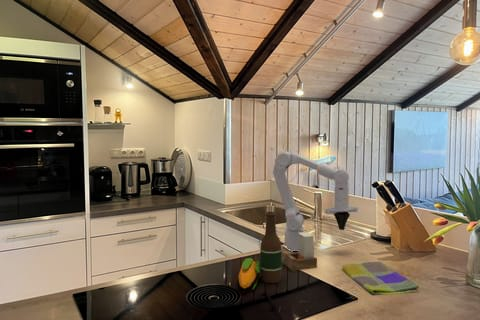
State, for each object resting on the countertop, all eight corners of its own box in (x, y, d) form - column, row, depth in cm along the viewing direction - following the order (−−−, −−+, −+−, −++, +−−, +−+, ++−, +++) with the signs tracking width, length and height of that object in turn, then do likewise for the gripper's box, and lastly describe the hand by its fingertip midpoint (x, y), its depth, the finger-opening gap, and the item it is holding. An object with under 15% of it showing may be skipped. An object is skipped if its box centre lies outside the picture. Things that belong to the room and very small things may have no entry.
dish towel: (369, 297, 115) (369, 288, 115) (340, 269, 139) (340, 262, 139) (421, 293, 117) (421, 285, 117) (383, 267, 141) (383, 260, 141)
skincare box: (297, 262, 147) (297, 232, 146) (307, 260, 148) (307, 231, 148) (304, 267, 141) (304, 236, 141) (314, 265, 142) (314, 235, 142)
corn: (261, 253, 135) (255, 273, 115) (263, 273, 135) (257, 296, 115) (241, 254, 136) (232, 273, 116) (243, 274, 136) (234, 297, 116)
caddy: (280, 261, 148) (280, 250, 148) (304, 258, 151) (304, 247, 151) (293, 271, 137) (293, 259, 136) (318, 268, 139) (318, 256, 139)
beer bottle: (286, 277, 131) (285, 211, 129) (276, 285, 124) (275, 215, 123) (266, 273, 135) (265, 209, 133) (256, 281, 128) (255, 213, 127)
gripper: (331, 200, 150) (331, 233, 150) (361, 198, 154) (361, 230, 155) (322, 197, 156) (322, 229, 157) (352, 195, 161) (352, 226, 161)
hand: (341, 229), depth 156 cm, fingers closed
